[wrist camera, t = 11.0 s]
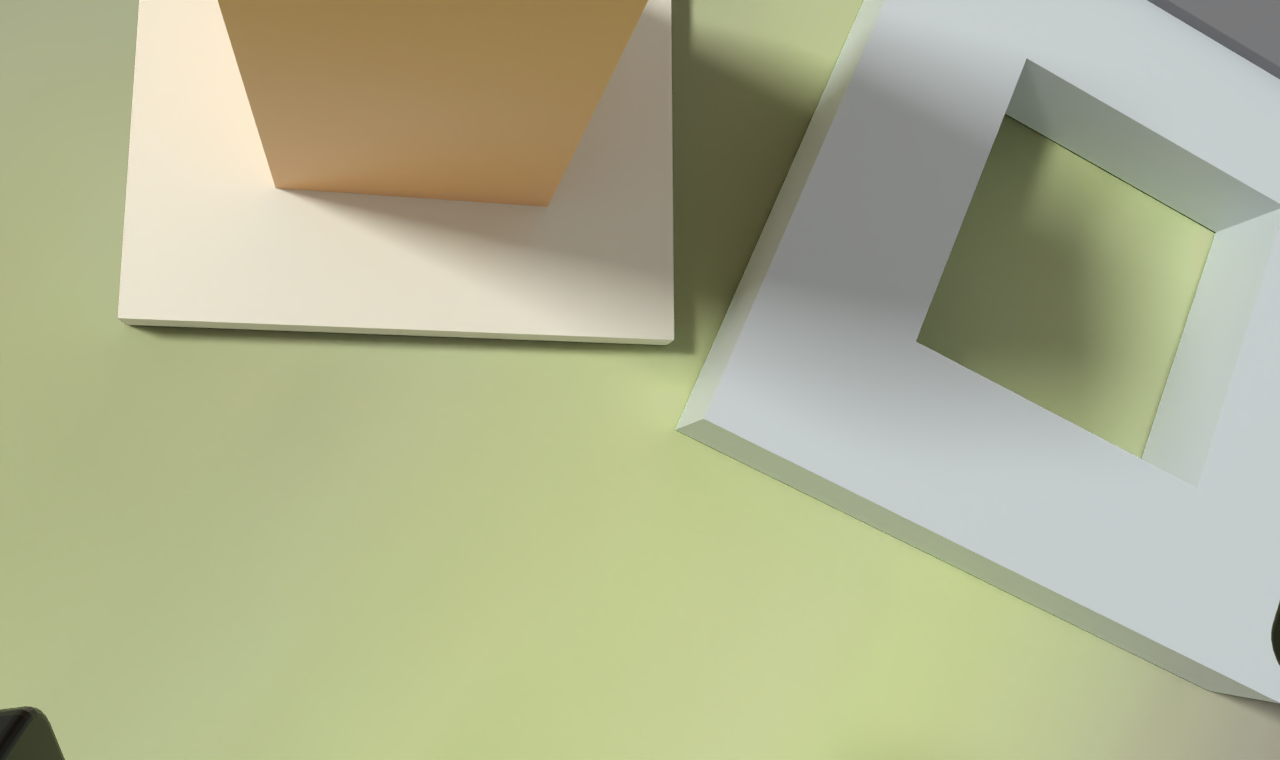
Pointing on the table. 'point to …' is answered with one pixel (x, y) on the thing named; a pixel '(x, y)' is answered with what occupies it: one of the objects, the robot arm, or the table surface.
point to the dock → (985, 411)
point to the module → (426, 91)
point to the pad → (389, 216)
